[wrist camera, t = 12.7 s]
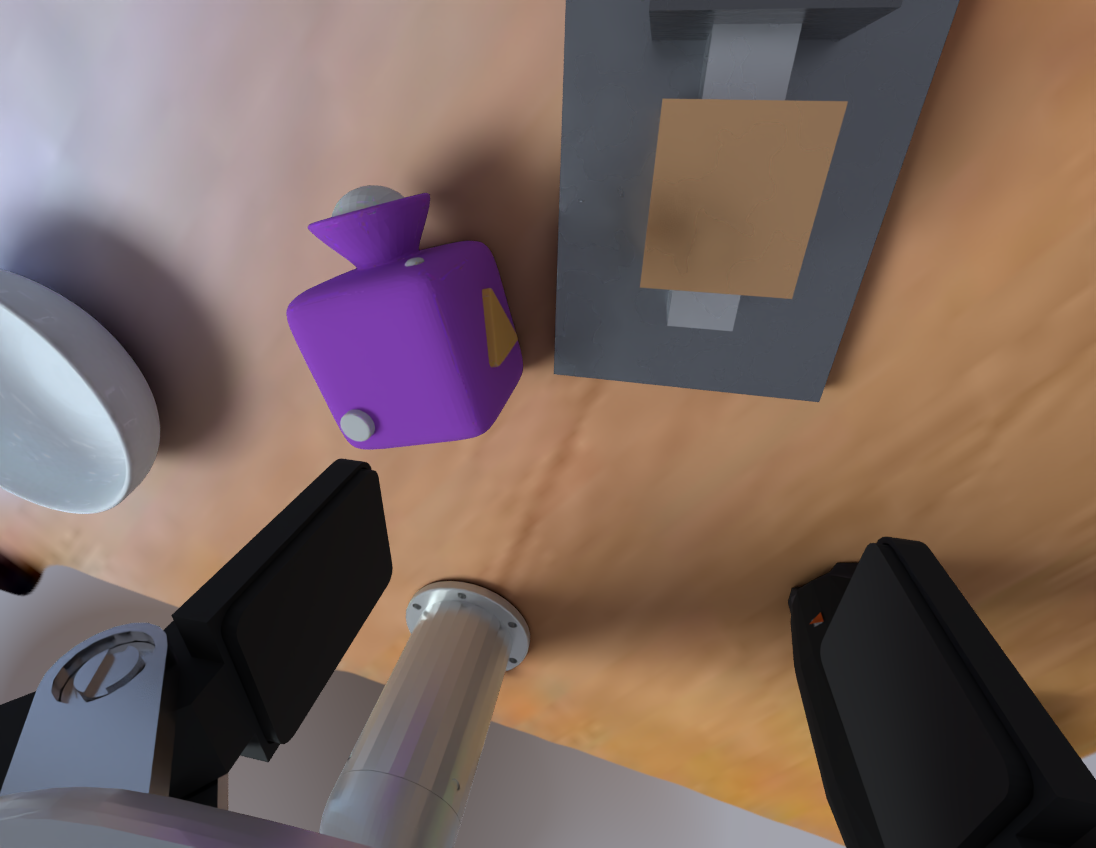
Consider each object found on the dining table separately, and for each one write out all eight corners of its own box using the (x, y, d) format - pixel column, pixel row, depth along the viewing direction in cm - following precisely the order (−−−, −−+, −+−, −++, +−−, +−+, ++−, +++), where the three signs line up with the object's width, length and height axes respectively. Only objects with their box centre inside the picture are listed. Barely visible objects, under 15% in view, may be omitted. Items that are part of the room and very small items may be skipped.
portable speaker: (760, 576, 38) (837, 910, 22) (893, 541, 34) (1112, 916, 18) (800, 644, 41) (895, 986, 24) (927, 619, 37) (1143, 1007, 20)
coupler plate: (812, 391, 30) (852, 458, 24) (558, 364, 33) (533, 419, 26) (983, -118, 19) (1149, -250, 12) (574, -97, 21) (538, -198, 15)
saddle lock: (766, 267, 26) (792, 298, 21) (643, 259, 27) (639, 287, 22) (804, 109, 22) (847, 101, 17) (662, 107, 23) (662, 98, 18)
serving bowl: (53, 457, 49) (-29, 501, 43) (-86, 237, 38) (-221, 255, 32) (232, 481, 45) (169, 532, 39) (133, 245, 35) (26, 267, 29)
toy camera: (457, 147, 27) (365, 150, 19) (556, 360, 32) (519, 438, 24) (319, 228, 31) (192, 261, 23) (427, 406, 36) (357, 487, 28)
